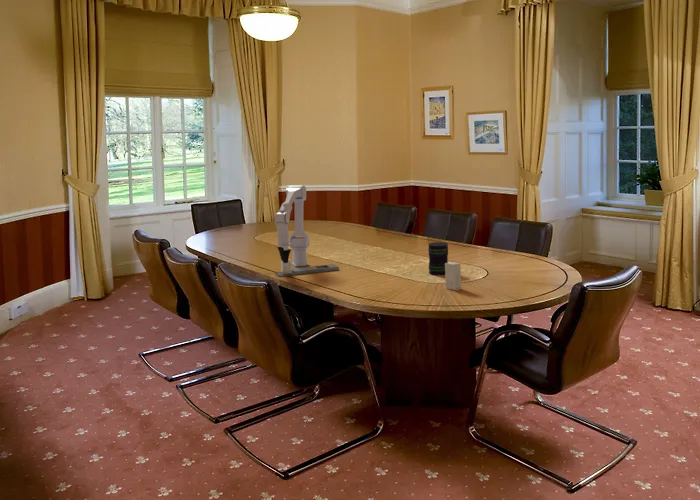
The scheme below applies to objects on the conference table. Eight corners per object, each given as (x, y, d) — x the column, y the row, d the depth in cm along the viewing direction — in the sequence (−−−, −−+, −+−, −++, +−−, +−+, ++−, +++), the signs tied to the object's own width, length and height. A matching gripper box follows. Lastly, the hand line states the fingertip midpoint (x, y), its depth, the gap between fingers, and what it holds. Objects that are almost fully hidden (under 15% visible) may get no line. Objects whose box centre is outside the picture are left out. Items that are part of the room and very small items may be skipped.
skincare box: (461, 289, 314) (461, 263, 312) (455, 290, 311) (455, 264, 309) (451, 286, 319) (450, 261, 316) (444, 288, 316) (444, 263, 313)
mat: (275, 273, 361) (274, 272, 361) (291, 271, 364) (291, 270, 364) (278, 276, 353) (278, 276, 353) (295, 275, 356) (295, 274, 355)
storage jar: (425, 272, 350) (425, 243, 348) (443, 270, 353) (442, 241, 350) (433, 276, 341) (433, 246, 338) (451, 274, 344) (451, 244, 341)
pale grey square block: (281, 272, 360) (280, 259, 359) (290, 271, 361) (289, 258, 360) (282, 274, 356) (282, 261, 354) (291, 273, 357) (290, 260, 356)
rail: (291, 271, 363) (290, 268, 363) (334, 267, 371) (334, 263, 370) (294, 275, 356) (294, 271, 356) (338, 270, 363) (338, 266, 363)
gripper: (293, 237, 349) (294, 263, 351) (288, 232, 362) (290, 258, 365) (279, 238, 347) (280, 264, 350) (275, 233, 361) (276, 259, 363)
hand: (284, 261), depth 357 cm, fingers open, 7 cm apart
